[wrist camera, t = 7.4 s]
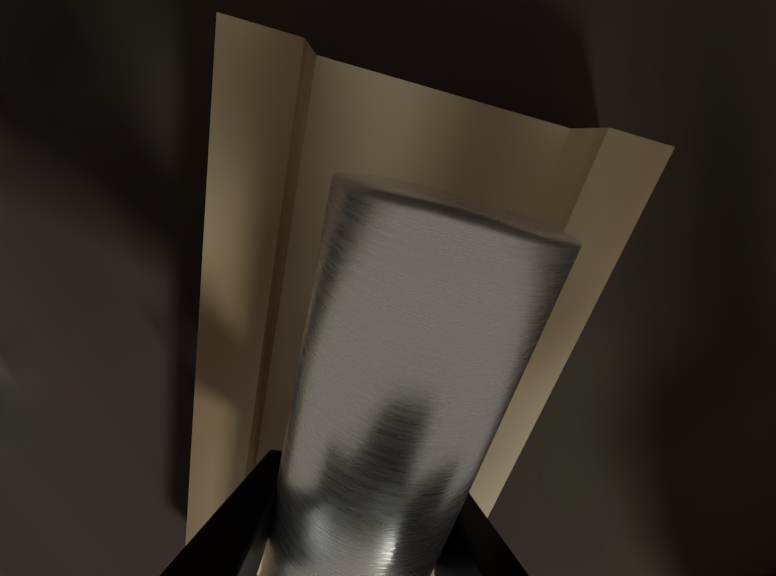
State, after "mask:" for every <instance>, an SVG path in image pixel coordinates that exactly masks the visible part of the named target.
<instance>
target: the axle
mask: <svg viewBox="0 0 776 576" xmlns="http://www.w3.org/2000/svg"><path fill="white" fill-rule="evenodd" d="M581 247H582V244H581V242H580V241H579V240H578V239H576V238H575V237H573V236H571V235H570V234H568V233H566V232H564V231H562V230H560V229H558V228H555V227H553V226H551V225H548V224H546V223H543V222H541V221H538V220H536V219H533V218H530V217H528V216H525V215H522V214H519V213H517V212H514V211H511V210H508V209H505V208H502V207H499V206H495V205H492V204H489V203H486V202H483V201H479V200H476V199H473V198H469V197H466V196H462V195H459V194H455V193H451V192H447V191H444V190H440V189H436V188H432V187H428V186H424V185H419V184H415V183H411V182H406V181H402V180H397V179H392V178H386V177H381V176H375V175H368V174H361V173H349V172H340V173H335V174H333V175H332V179H331V185H330V190H329V196H328V201H327V207H326V212H325V218H324V224H323V229H322V235H321V240H320V246H319V251H318V257H317V262H316V268H315V273H314V279H313V284H312V290H311V295H310V301H309V306H308V312H307V317H306V323H305V328H304V334H303V340H302V345H301V351H300V356H299V362H298V367H297V373H296V378H295V384H294V389H293V395H292V400H291V406H290V411H289V417H288V422H287V428H286V433H285V439H284V444H283V450H282V456H281V461H280V467H279V472H278V478H277V491H276V497H275V502H274V507H273V513H272V518H271V524H270V529H269V535H268V540H267V544H266V547H265V551H264V555H263V560H262V566H261V571H260V576H431V574H432V571H433V569H434V567H435V565H436V563H437V561H438V558H439V556H440V554H441V552H442V550H443V548H444V545H445V543H446V541H447V539H448V537H449V534H450V532H451V530H452V528H453V526H454V524H455V521H456V519H457V517H458V515H459V513H460V510H461V508H462V506H463V504H464V502H465V500H466V497H467V495H468V493H469V491H470V489H471V487H472V484H473V482H474V480H475V478H476V476H477V473H478V471H479V469H480V467H481V465H482V463H483V460H484V458H485V456H486V454H487V452H488V449H489V447H490V445H491V443H492V441H493V439H494V436H495V434H496V432H497V430H498V428H499V425H500V423H501V421H502V419H503V417H504V415H505V412H506V410H507V408H508V406H509V404H510V402H511V399H512V397H513V395H514V393H515V391H516V388H517V386H518V384H519V382H520V380H521V378H522V375H523V373H524V371H525V369H526V367H527V364H528V362H529V360H530V358H531V356H532V354H533V351H534V349H535V347H536V345H537V343H538V341H539V338H540V336H541V334H542V332H543V330H544V327H545V325H546V323H547V321H548V319H549V317H550V314H551V312H552V310H553V308H554V306H555V303H556V301H557V299H558V297H559V295H560V293H561V290H562V288H563V286H564V284H565V282H566V280H567V277H568V275H569V273H570V271H571V269H572V266H573V264H574V262H575V260H576V258H577V256H578V253H579V251H580V249H581Z"/></svg>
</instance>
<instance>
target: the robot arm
mask: <svg viewBox="0 0 776 576" xmlns="http://www.w3.org/2000/svg"><path fill="white" fill-rule="evenodd" d="M281 456H282V450H275V449H271V450H269V451H268V452H267V453H266V455H265V456H264V457H263V458H262V459H261V460H260V461H259V463H258V464H257V465H256V466H255V467H254V468H253V469H252V471H251V472H250V473H249V474H248V475H247V476H246V477H245V479H244V480H243V481H242V482H241V483H240V484H239V485H238V487H237V488H236V489H235V490H234V491H233V492H232V493H231V495H230V496H229V497H228V498H227V499H226V500H225V501H224V503H223V504H222V505H221V506H220V507H219V508H218V510H217V511H216V512H215V513H214V514H213V515H212V516H211V518H210V519H209V520H208V521H207V522H206V523H205V524H204V526H203V527H202V528H201V529H200V530H199V531H198V532H197V534H196V535H195V536H194V537H193V538H192V539H191V540H190V542H189V543H188V544H187V545H186V546H185V547H184V548H183V550H182V551H181V552H180V553H179V554H178V555H177V556H176V558H175V559H174V560H173V561H172V562H171V563H170V564H169V566H168V567H167V568H166V569H165V570H164V571H163V572H162V574H161V575H160V576H256V575H257V572H258V569H259V566H260V563H261V560H262V557H263V554H264V551H265V547H266V544H267V540H268V535H269V529H270V524H271V518H272V513H273V507H274V502H275V497H276V491H277V478H278V472H279V467H280V461H281ZM434 575H435V576H529V575H528V574H527V573H526V571H525V570H524V568H523V567H522V566H521V564H520V563H519V561H518V560H517V559H516V557H515V556H514V554H513V553H512V552H511V550H510V549H509V548H508V546H507V545H506V543H505V542H504V541H503V539H502V538H501V536H500V535H499V534H498V532H497V531H496V529H495V528H494V527H493V525H492V524H491V522H490V521H489V520H488V518H487V517H486V515H485V514H484V513H483V511H482V510H481V509H480V507H479V506H478V504H477V503H476V502H475V500H474V499H473V497H472V496H471V495H470V493H468V495H467V497H466V500H465V502H464V504H463V506H462V508H461V510H460V513H459V515H458V517H457V519H456V521H455V524H454V526H453V528H452V530H451V532H450V534H449V537H448V539H447V541H446V543H445V545H444V548H443V550H442V552H441V554H440V556H439V558H438V561H437V563H436V565H435V567H434Z"/></svg>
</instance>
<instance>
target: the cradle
mask: <svg viewBox="0 0 776 576" xmlns="http://www.w3.org/2000/svg"><path fill="white" fill-rule="evenodd" d="M674 148H675V147H674V146H670V145H667V144H663V143H660V142H657V141H653V140H650V139H646V138H643V137H640V136H636V135H633V134H630V133H626V132H623V131H619V130H616V129H613V128H609V127H607V128H573V129H571V128H567V127H564V126H560V125H557V124H553V123H550V122H546V121H543V120H540V119H536V118H533V117H529V116H526V115H522V114H519V113H515V112H512V111H508V110H505V109H502V108H498V107H495V106H491V105H488V104H484V103H481V102H477V101H474V100H470V99H467V98H464V97H460V96H457V95H453V94H450V93H446V92H443V91H439V90H436V89H433V88H429V87H426V86H422V85H419V84H415V83H412V82H408V81H405V80H401V79H398V78H395V77H391V76H388V75H384V74H381V73H377V72H374V71H370V70H367V69H363V68H360V67H357V66H353V65H350V64H346V63H343V62H339V61H336V60H332V59H329V58H325V57H322V56H319V55H316V54H315V52H314V51H313V49H312V48H311V46H310V45H309V43H308V42H307V41H306V39H305V38H304V37H300V36H297V35H293V34H290V33H287V32H283V31H280V30H276V29H273V28H270V27H266V26H263V25H259V24H256V23H253V22H249V21H246V20H242V19H239V18H236V17H232V16H229V15H225V14H222V13H219V12H217V13H216V31H215V48H214V65H213V82H212V99H211V116H210V134H209V151H208V168H207V185H206V202H205V219H204V237H203V254H202V271H201V288H200V305H199V322H198V340H197V357H196V374H195V391H194V408H193V426H192V443H191V460H190V477H189V494H188V511H187V529H186V545H187V544H188V543H189V542H190V540H191V539H192V538H193V537H194V536H195V535H196V534H197V532H198V531H199V530H200V529H201V528H202V527H203V526H204V524H205V523H206V522H207V521H208V520H209V519H210V518H211V516H212V515H213V514H214V513H215V512H216V511H217V510H218V508H219V507H220V506H221V505H222V504H223V503H224V501H225V500H226V499H227V498H228V497H229V496H230V495H231V493H232V492H233V491H234V490H235V489H236V488H237V487H238V485H239V484H240V483H241V482H242V481H243V480H244V479H245V477H246V476H247V475H248V474H249V473H250V472H251V471H252V469H253V468H254V467H255V466H256V465H257V464H258V463H259V461H260V460H261V459H262V458H263V457H264V456H265V455H266V453H267V452H268V451H269V450H271V449H275V450H283V444H284V439H285V433H286V428H287V422H288V417H289V411H290V406H291V400H292V395H293V389H294V384H295V378H296V373H297V367H298V362H299V356H300V351H301V345H302V340H303V334H304V328H305V323H306V317H307V312H308V306H309V301H310V295H311V290H312V284H313V279H314V273H315V268H316V262H317V257H318V251H319V246H320V240H321V235H322V229H323V224H324V218H325V212H326V207H327V201H328V196H329V190H330V185H331V179H332V175H333V174H335V173H340V172H349V173H361V174H368V175H375V176H381V177H386V178H392V179H397V180H402V181H406V182H411V183H415V184H419V185H424V186H428V187H432V188H436V189H440V190H444V191H447V192H451V193H455V194H459V195H462V196H466V197H469V198H473V199H476V200H479V201H483V202H486V203H489V204H492V205H495V206H499V207H502V208H505V209H508V210H511V211H514V212H517V213H519V214H522V215H525V216H528V217H530V218H533V219H536V220H538V221H541V222H543V223H546V224H548V225H551V226H553V227H555V228H558V229H560V230H562V231H564V232H566V233H568V234H570V235H571V236H573V237H575V238H576V239H578V240H579V241H580V242H581V244H582V247H581V249H580V251H579V253H578V256H577V258H576V260H575V262H574V264H573V266H572V269H571V271H570V273H569V275H568V277H567V280H566V282H565V284H564V286H563V288H562V290H561V293H560V295H559V297H558V299H557V301H556V303H555V306H554V308H553V310H552V312H551V314H550V317H549V319H548V321H547V323H546V325H545V327H544V330H543V332H542V334H541V336H540V338H539V341H538V343H537V345H536V347H535V349H534V351H533V354H532V356H531V358H530V360H529V362H528V364H527V367H526V369H525V371H524V373H523V375H522V378H521V380H520V382H519V384H518V386H517V388H516V391H515V393H514V395H513V397H512V399H511V402H510V404H509V406H508V408H507V410H506V412H505V415H504V417H503V419H502V421H501V423H500V425H499V428H498V430H497V432H496V434H495V436H494V439H493V441H492V443H491V445H490V447H489V449H488V452H487V454H486V456H485V458H484V460H483V463H482V465H481V467H480V469H479V471H478V473H477V476H476V478H475V480H474V482H473V484H472V487H471V489H470V491H469V493H470V495H471V496H472V497H473V499H474V500H475V502H476V503H477V504H478V506H479V507H480V509H481V510H482V511H483V513H484V514H485V515H486V517H487V518H488V516H489V514H490V512H491V510H492V508H493V506H494V504H495V502H496V500H497V498H498V496H499V494H500V492H501V490H502V488H503V486H504V484H505V482H506V480H507V478H508V476H509V474H510V472H511V470H512V468H513V466H514V464H515V462H516V460H517V458H518V456H519V454H520V452H521V450H522V448H523V446H524V444H525V442H526V440H527V439H528V437H529V435H530V433H531V431H532V429H533V427H534V425H535V423H536V421H537V419H538V417H539V415H540V413H541V411H542V409H543V407H544V405H545V403H546V401H547V399H548V397H549V395H550V393H551V391H552V389H553V387H554V385H555V383H556V381H557V379H558V377H559V375H560V373H561V371H562V369H563V367H564V365H565V363H566V361H567V359H568V357H569V355H570V354H571V352H572V350H573V348H574V346H575V344H576V342H577V340H578V338H579V336H580V334H581V332H582V330H583V328H584V326H585V324H586V322H587V320H588V318H589V316H590V314H591V312H592V310H593V308H594V306H595V304H596V302H597V300H598V298H599V296H600V294H601V292H602V290H603V288H604V286H605V284H606V282H607V280H608V278H609V276H610V274H611V272H612V270H613V269H614V267H615V265H616V263H617V261H618V259H619V257H620V255H621V253H622V251H623V249H624V247H625V245H626V243H627V241H628V239H629V237H630V235H631V233H632V231H633V229H634V227H635V225H636V223H637V221H638V219H639V217H640V215H641V213H642V211H643V209H644V207H645V205H646V203H647V201H648V199H649V197H650V195H651V193H652V191H653V189H654V187H655V185H656V183H657V182H658V180H659V178H660V176H661V174H662V172H663V170H664V168H665V166H666V164H667V162H668V160H669V158H670V156H671V154H672V152H673V150H674ZM263 555H264V554H263ZM262 560H263V557H262ZM262 560H261V563H260V566H259V569H258V572H257V575H260V571H261V566H262ZM431 576H435V575H434V569H433V571H432V574H431Z"/></svg>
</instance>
